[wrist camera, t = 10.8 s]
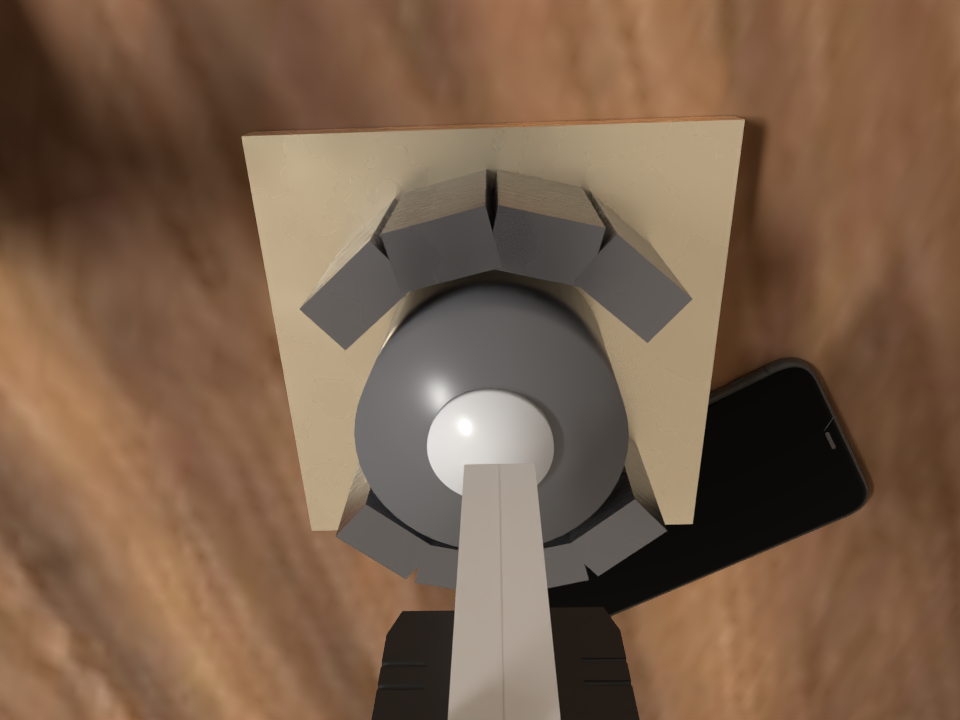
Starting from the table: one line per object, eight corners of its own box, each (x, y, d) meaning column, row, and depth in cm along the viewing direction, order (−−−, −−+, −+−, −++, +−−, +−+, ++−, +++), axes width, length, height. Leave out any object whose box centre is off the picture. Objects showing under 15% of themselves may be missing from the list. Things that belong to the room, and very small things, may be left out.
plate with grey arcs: (252, 131, 20) (173, 164, 15) (733, 115, 20) (815, 143, 15) (317, 513, 26) (277, 626, 21) (685, 507, 26) (732, 620, 21)
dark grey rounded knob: (370, 263, 21) (329, 330, 16) (603, 247, 20) (632, 310, 15) (401, 457, 24) (373, 563, 19) (604, 447, 23) (629, 553, 18)
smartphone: (527, 639, 29) (869, 493, 26) (528, 655, 29) (880, 507, 25) (432, 523, 27) (797, 341, 23) (430, 537, 26) (808, 352, 22)
